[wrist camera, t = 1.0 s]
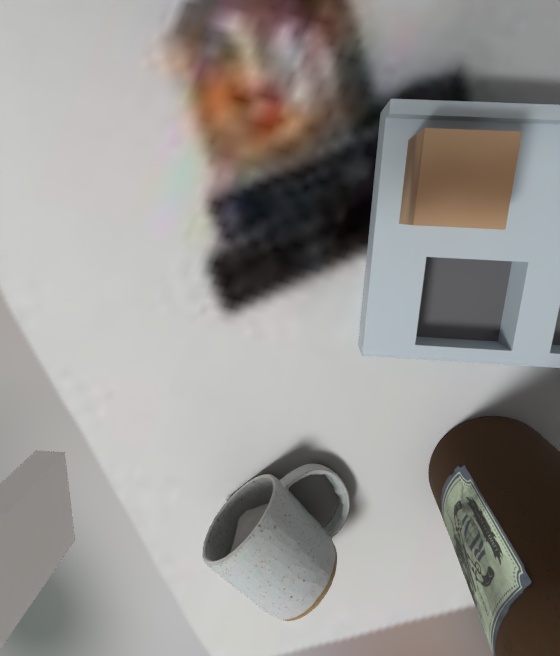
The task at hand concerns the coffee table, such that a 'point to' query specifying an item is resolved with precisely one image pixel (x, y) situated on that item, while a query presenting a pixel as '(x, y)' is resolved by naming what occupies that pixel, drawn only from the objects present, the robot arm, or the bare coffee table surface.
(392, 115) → the board
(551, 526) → the olive oil
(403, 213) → the brown block
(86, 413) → the coffee table surface
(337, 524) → the ceramic mug
